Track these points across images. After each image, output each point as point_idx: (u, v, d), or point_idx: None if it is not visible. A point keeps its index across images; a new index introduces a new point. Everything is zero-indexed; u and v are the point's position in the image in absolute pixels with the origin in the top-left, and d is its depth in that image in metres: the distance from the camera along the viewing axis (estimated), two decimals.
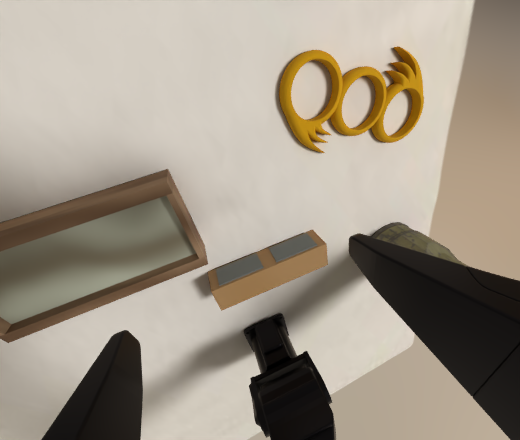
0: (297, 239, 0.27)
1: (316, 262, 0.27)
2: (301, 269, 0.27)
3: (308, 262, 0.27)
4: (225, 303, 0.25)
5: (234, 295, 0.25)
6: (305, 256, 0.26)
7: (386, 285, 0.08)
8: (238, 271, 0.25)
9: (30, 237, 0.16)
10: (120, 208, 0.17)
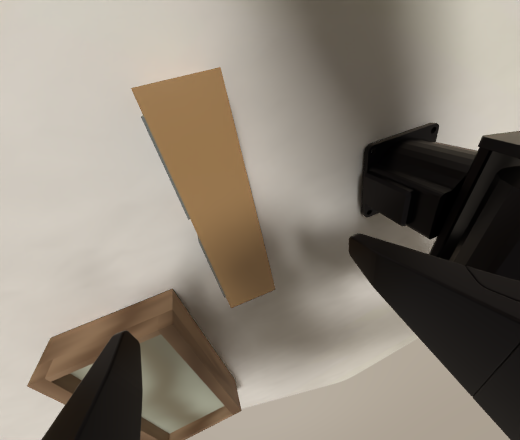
0: None
1: (203, 114, 0.10)
2: (220, 158, 0.11)
3: (201, 142, 0.10)
4: (262, 287, 0.16)
5: (250, 278, 0.15)
6: (175, 155, 0.10)
7: (386, 285, 0.08)
8: None
9: None
10: None
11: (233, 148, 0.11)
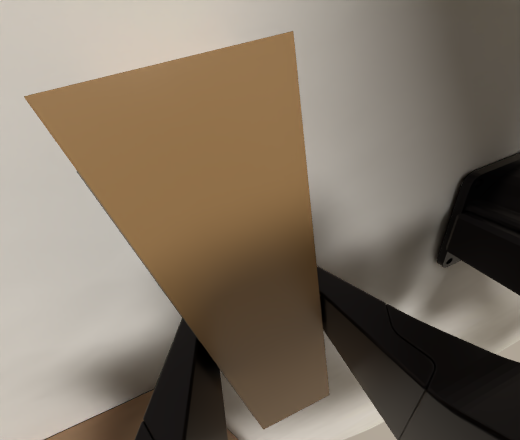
0: None
1: (240, 158, 0.04)
2: (269, 242, 0.05)
3: (230, 217, 0.04)
4: (311, 397, 0.10)
5: (296, 393, 0.10)
6: (172, 250, 0.04)
7: None
8: None
9: None
10: None
11: (298, 221, 0.05)
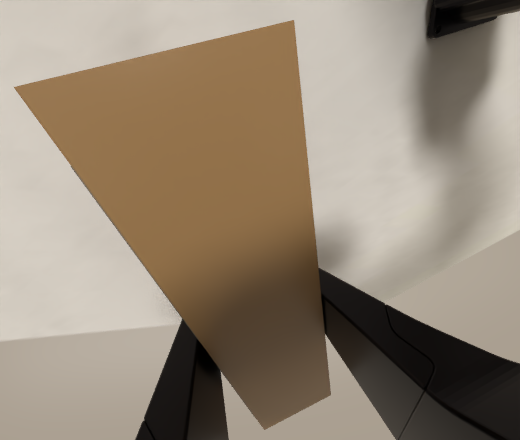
0: None
1: (240, 153, 0.04)
2: (270, 240, 0.05)
3: (230, 214, 0.04)
4: (313, 397, 0.10)
5: (297, 393, 0.09)
6: (170, 248, 0.04)
7: None
8: None
9: None
10: None
11: (299, 218, 0.05)
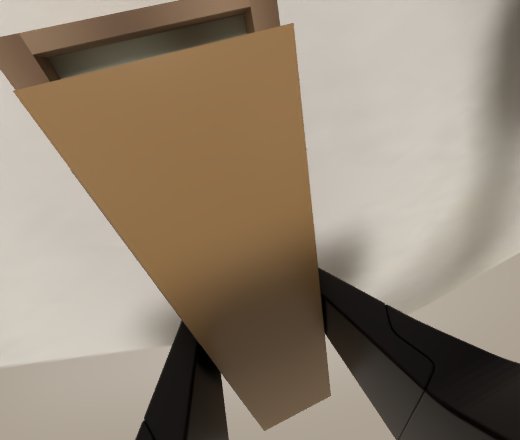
0: None
1: (239, 156, 0.04)
2: (269, 242, 0.05)
3: (229, 216, 0.04)
4: (313, 398, 0.10)
5: (297, 394, 0.09)
6: (170, 251, 0.04)
7: None
8: None
9: None
10: None
11: (298, 220, 0.05)
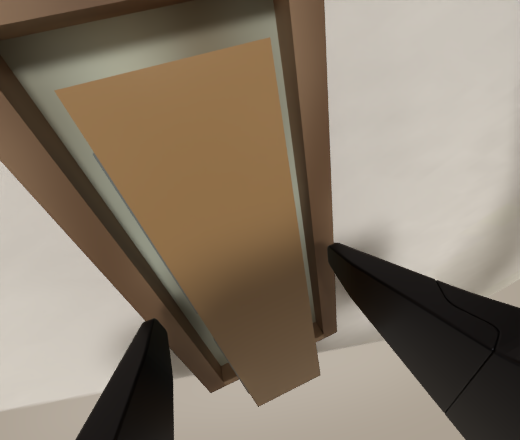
0: None
1: (229, 144, 0.04)
2: (257, 220, 0.06)
3: (222, 196, 0.05)
4: (303, 376, 0.11)
5: (288, 371, 0.10)
6: (172, 225, 0.05)
7: (361, 296, 0.08)
8: None
9: (166, 318, 0.10)
10: (68, 191, 0.06)
11: (281, 201, 0.06)
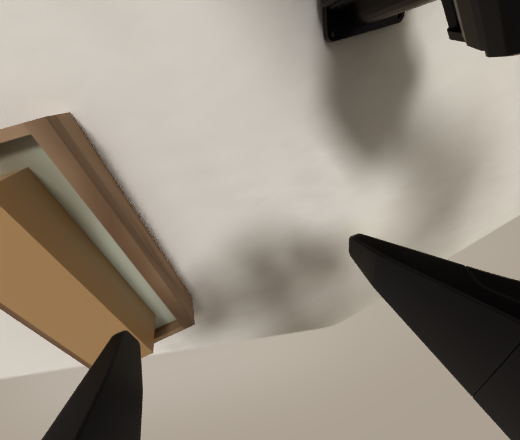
0: None
1: None
2: (24, 259, 0.11)
3: None
4: None
5: None
6: None
7: (386, 285, 0.08)
8: None
9: None
10: None
11: (36, 249, 0.11)
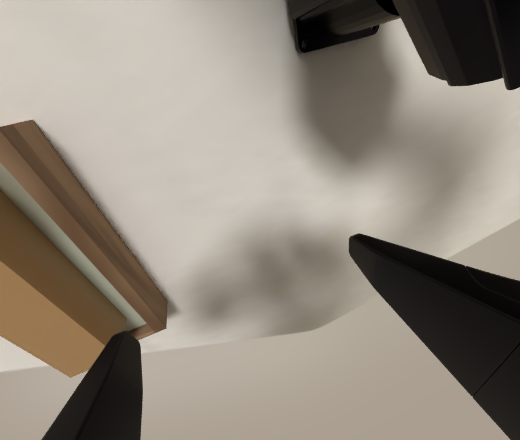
0: None
1: None
2: None
3: None
4: None
5: (80, 352, 0.16)
6: None
7: (386, 285, 0.08)
8: None
9: None
10: None
11: None
